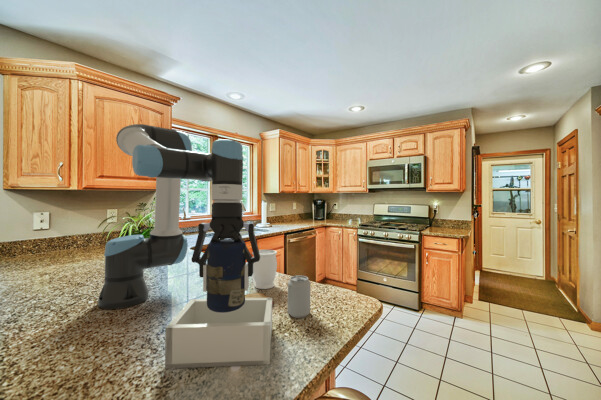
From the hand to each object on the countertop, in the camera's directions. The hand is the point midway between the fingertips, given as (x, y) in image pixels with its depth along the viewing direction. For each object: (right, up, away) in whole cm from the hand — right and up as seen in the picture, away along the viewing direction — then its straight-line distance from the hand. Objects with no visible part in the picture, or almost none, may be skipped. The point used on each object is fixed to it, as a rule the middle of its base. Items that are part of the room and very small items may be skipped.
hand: (226, 289), depth 64 cm
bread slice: (-1, -15, +23) cm, 27 cm away
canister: (0, -5, 0) cm, 5 cm away
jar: (+3, -15, +45) cm, 47 cm away
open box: (0, -15, 0) cm, 15 cm away
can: (+18, -15, +19) cm, 30 cm away
